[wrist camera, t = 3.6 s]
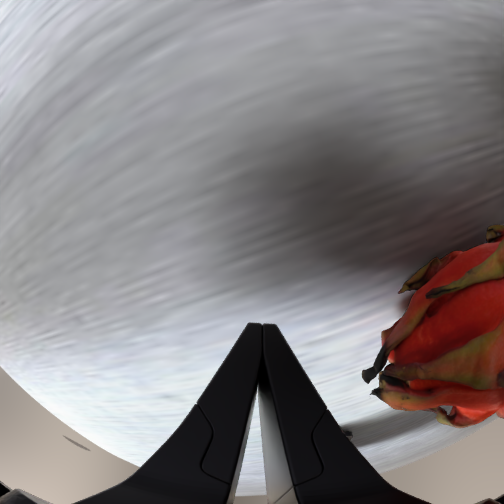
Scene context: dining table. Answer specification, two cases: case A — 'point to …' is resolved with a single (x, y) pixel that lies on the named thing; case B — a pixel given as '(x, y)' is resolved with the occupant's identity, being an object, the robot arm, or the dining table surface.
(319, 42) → the dining table surface
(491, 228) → the dragon fruit
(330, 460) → the robot arm
